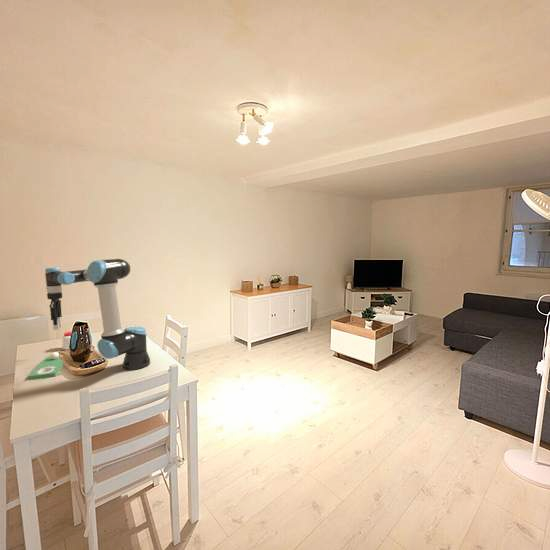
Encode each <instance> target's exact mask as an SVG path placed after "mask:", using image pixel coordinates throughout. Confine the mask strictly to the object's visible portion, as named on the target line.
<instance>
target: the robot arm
mask: <svg viewBox="0 0 550 550" xmlns="http://www.w3.org/2000/svg"><path fill="white" fill-rule="evenodd" d="M44 273H45V274H44V277H45V283H46V287H45V289H46V297H47V300H51V301H50V304H49V310H50V321H52V326H53V327H52V329H53V331H58V330H60V328H62V317H63V315H62V300H61V299H62V298H63V292H62V291H63V288H62V285H64V286H66V285H68V286H69V285H72V284H75V283H85V282H90V283H92V284H93V286H94V287H95V288H97V292H98V299H99V300H98V301H99V307H100V313H101V320H102V328H103V332H102V333H101V334H100V336H101V339H99V340H98V341H97V350H98V352H99V354H100V355H101V356H102V358H105V359H114V358H117V357H119V356H121V355H124V354H125V355H124V357H123V361H122V368H123V369H125V370H128V371H133V370H134V371H135V370H142V369H144V368H146V367H148V366H150V364H151V358H150V356H149V353H148V350H147V330H146V328H144V327H142V326H128V327H125V328H124V329H123V328H122V326H121V325H122V324H121V317H120V310H119V302H118V295H117V289H116V286H117V285H118V284H119V280H122V279H124V278H126V277H128V276H129V274H130V273H131V266H130V263H129V262H128V261H126V260H125V259H121V258H114V259H111V258H110V259H98V260H93V261H91V262H90V263H89V265H88V267H87V268H86V269H80V270H79V269H78V270H68V271H62V270H61V269H60V267H57V266H55V267H54V266H53V267H46V268H45V272H44Z"/></svg>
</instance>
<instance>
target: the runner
mask: <svg viewBox="0 0 550 550" xmlns="http://www.w3.org/2000/svg"><path fill="white" fill-rule="evenodd" d="M62 366H63V367H64V365H63V362H62V360H61V359H60V357H58V358H57V359H51V357H50V356H49V355H48V356H46V357H45V358H44V359H43V360H42V361H41V362H40V363H39V365H37V367H36V368H34V370H33V371H32V372H30V373H29V375H28V380H29V381H31V380H38V379H43V378H45V379H47V378H52V377H54V378H55V377H56V376H57V374H59V372H60V371H61V369H62V368H63V367H62Z"/></svg>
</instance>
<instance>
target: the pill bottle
mask: <svg viewBox="0 0 550 550" xmlns="http://www.w3.org/2000/svg"><path fill="white" fill-rule="evenodd" d="M71 332H72V331H66V332H64V333H63V335H62V337H61V338H62V339H61V340H62V350H63V349H68V348H69V342H70V336H71Z"/></svg>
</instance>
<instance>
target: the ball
mask: <svg viewBox="0 0 550 550" xmlns="http://www.w3.org/2000/svg"><path fill="white" fill-rule="evenodd" d="M59 355H60V353H59V352H58V351H54V352H51V354H50V357H51V359H57V358H58V357H59Z"/></svg>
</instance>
